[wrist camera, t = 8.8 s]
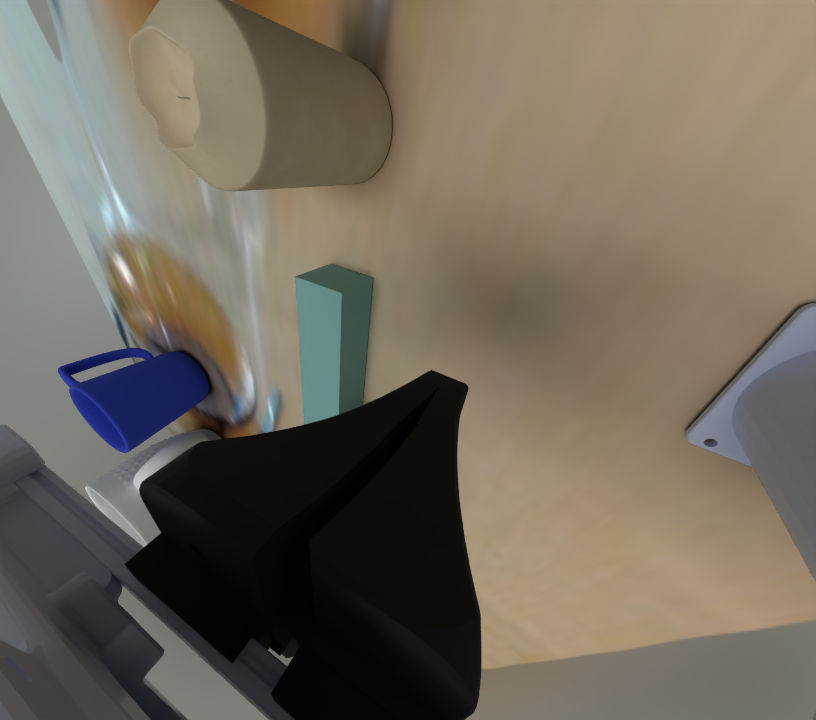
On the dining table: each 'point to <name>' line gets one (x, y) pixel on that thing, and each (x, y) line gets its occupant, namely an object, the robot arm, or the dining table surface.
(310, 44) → the candle
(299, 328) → the teal rectangular bar
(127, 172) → the dining table surface
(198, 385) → the mug
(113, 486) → the mug
